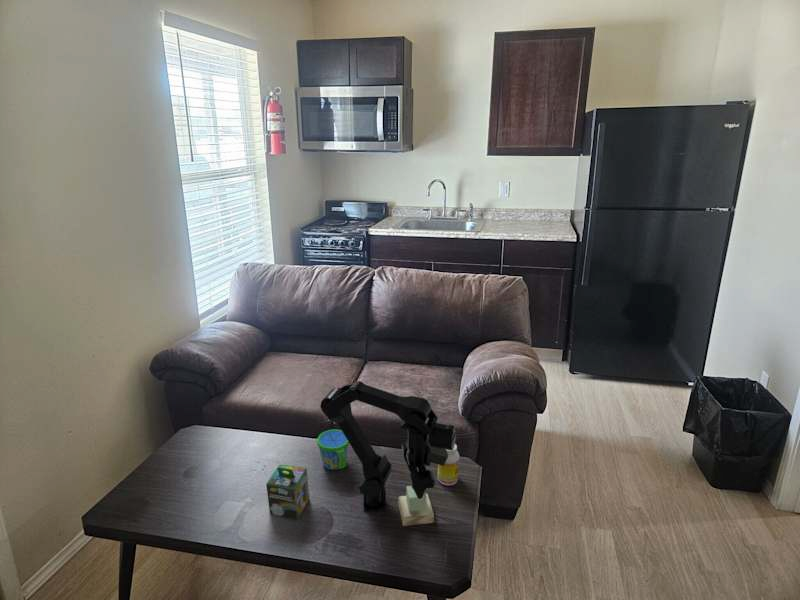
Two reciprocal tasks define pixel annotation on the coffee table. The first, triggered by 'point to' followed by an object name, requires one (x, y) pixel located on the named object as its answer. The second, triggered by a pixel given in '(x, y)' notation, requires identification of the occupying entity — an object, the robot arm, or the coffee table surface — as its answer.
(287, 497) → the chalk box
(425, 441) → the robot arm
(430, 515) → the oak riser block
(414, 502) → the sage cube
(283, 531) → the coffee table surface
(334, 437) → the snack cup
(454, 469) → the supplement bottle
